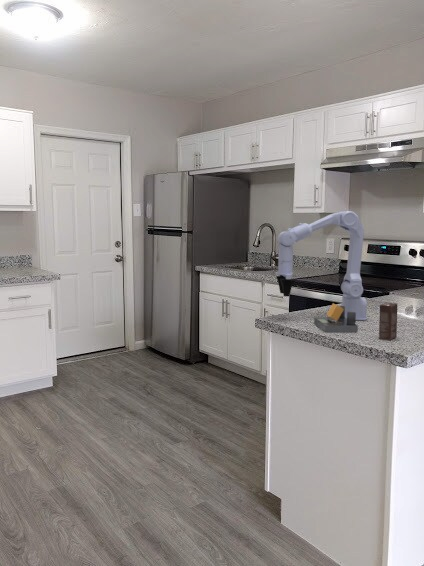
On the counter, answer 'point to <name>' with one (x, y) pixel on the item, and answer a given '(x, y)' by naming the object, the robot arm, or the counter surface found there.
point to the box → (388, 321)
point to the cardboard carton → (334, 312)
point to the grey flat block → (334, 325)
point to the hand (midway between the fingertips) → (284, 294)
